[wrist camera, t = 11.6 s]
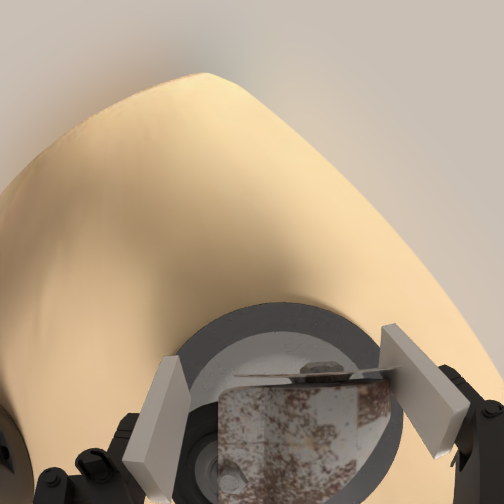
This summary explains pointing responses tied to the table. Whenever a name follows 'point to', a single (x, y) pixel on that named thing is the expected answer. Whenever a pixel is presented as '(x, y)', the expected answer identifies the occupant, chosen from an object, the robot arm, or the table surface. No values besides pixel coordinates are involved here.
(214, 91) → the table surface
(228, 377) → the carrier plate
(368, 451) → the caster wheel
